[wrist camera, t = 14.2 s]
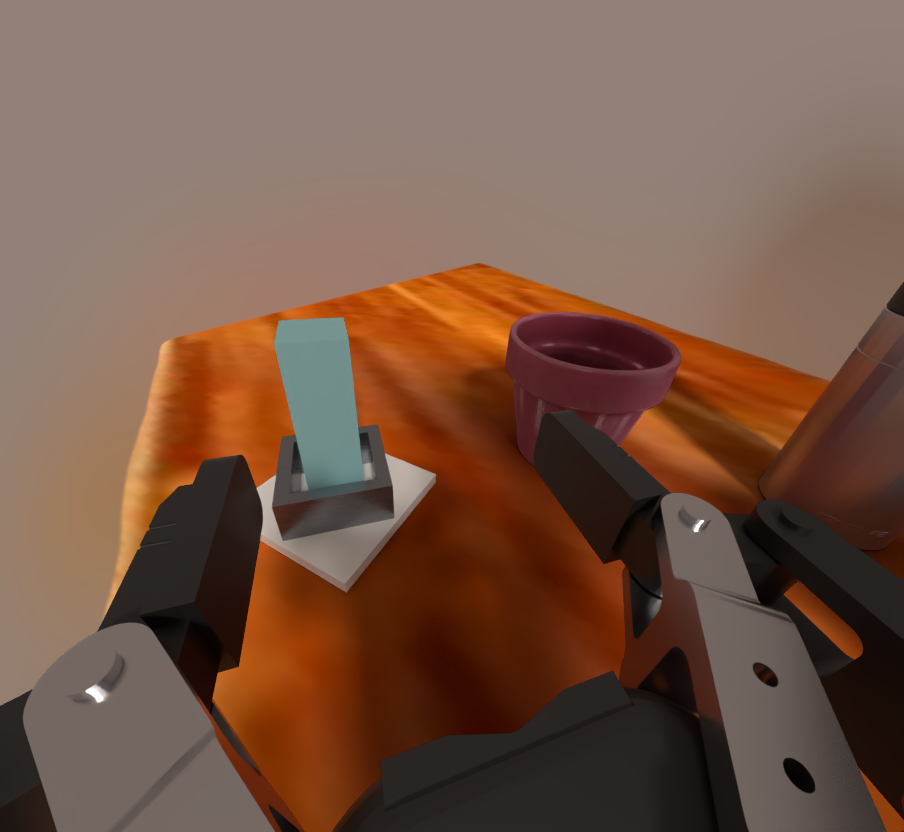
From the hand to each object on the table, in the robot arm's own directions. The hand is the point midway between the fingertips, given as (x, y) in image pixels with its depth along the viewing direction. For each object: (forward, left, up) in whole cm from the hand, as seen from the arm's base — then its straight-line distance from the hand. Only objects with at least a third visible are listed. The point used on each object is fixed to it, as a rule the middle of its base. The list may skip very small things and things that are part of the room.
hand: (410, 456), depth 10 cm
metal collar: (-9, -13, -17) cm, 23 cm away
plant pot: (-26, +2, -17) cm, 31 cm away
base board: (-9, -13, -17) cm, 23 cm away
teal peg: (-9, -13, -16) cm, 22 cm away
